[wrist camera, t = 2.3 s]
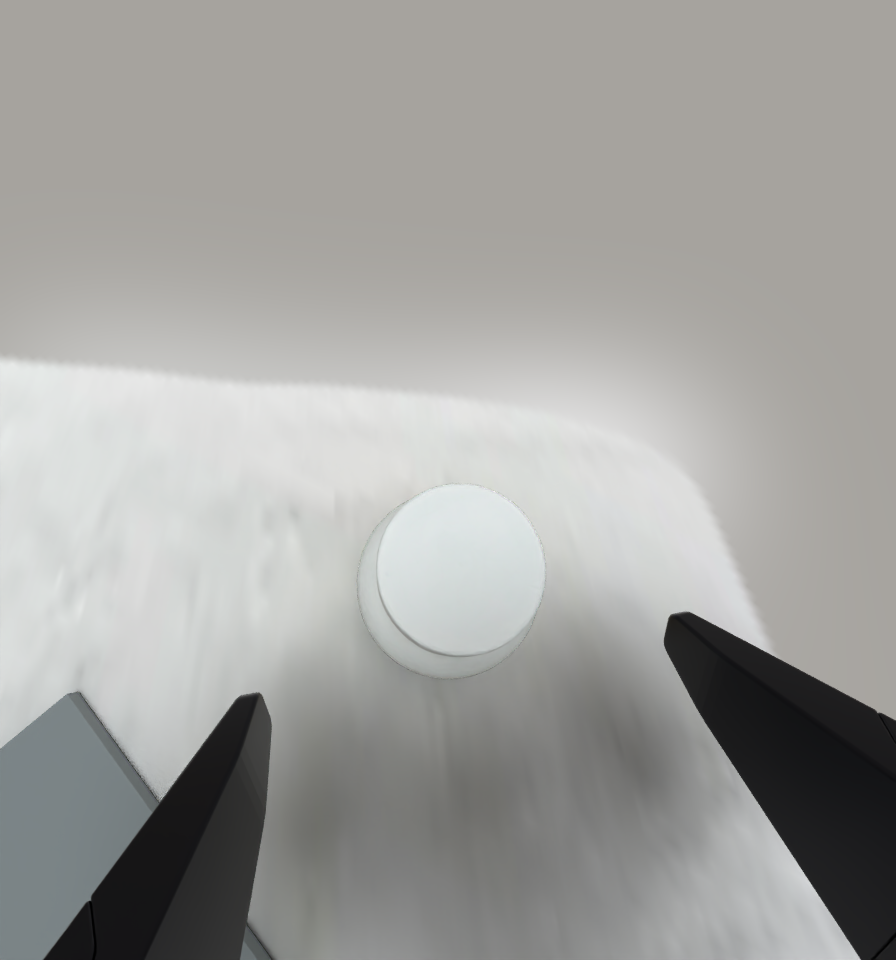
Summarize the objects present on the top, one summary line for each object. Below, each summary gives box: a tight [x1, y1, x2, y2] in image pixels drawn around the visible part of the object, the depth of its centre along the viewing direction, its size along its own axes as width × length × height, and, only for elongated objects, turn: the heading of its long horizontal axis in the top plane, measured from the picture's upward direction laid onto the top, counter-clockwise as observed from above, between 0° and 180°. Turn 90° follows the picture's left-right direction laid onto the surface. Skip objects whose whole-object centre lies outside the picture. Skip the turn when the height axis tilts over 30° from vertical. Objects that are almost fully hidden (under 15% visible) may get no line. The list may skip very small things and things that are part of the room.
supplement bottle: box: [357, 483, 546, 679], centre depth 15 cm, size 5×5×10 cm
